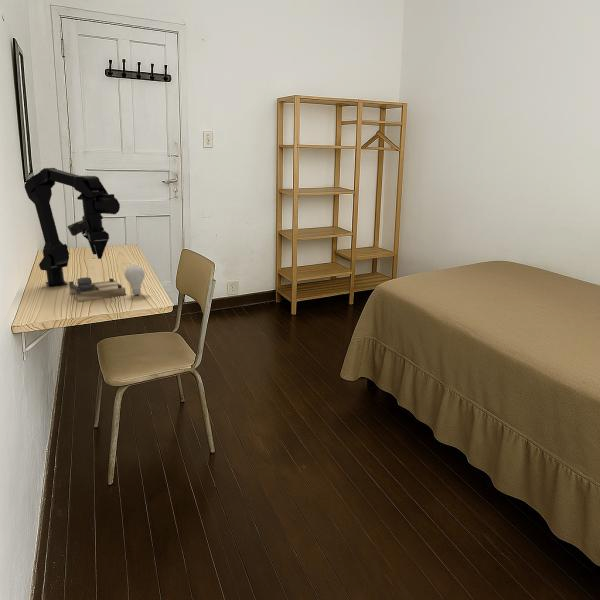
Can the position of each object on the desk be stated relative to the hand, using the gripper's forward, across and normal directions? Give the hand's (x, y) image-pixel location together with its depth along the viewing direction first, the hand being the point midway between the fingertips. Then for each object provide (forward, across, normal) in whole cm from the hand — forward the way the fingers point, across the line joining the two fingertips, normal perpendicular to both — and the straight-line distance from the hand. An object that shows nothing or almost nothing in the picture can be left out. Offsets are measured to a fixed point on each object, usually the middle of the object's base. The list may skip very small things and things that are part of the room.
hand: (97, 256), depth 190 cm
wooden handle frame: (+13, +4, -2) cm, 13 cm away
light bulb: (+13, +14, +10) cm, 21 cm away
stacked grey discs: (+13, +4, -6) cm, 15 cm away
